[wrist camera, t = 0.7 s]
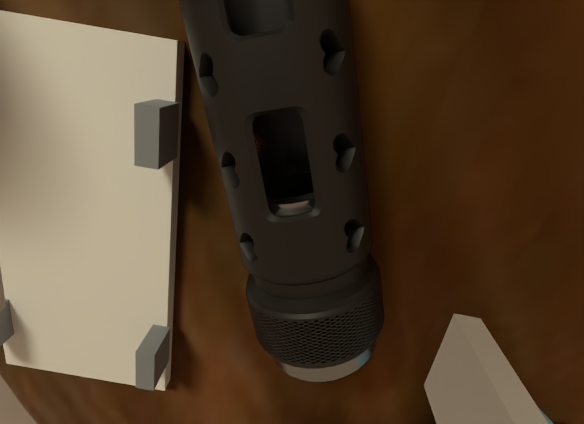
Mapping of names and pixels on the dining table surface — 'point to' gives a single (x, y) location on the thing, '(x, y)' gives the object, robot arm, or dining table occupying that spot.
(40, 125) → the mounting board
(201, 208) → the dining table surface
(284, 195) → the muzzle brake
